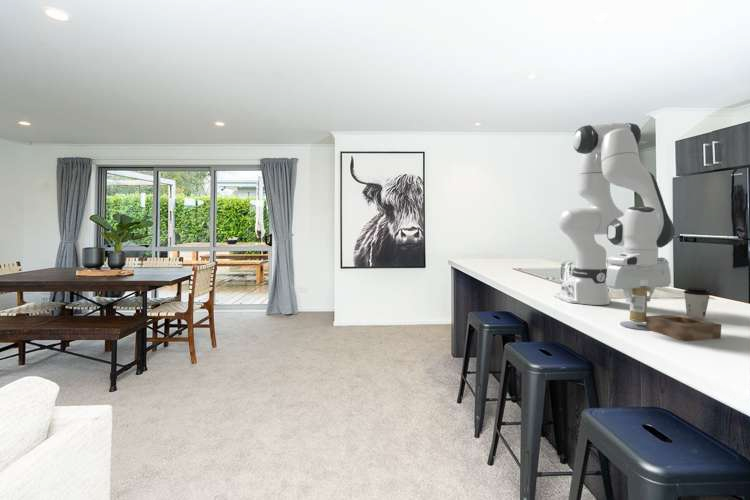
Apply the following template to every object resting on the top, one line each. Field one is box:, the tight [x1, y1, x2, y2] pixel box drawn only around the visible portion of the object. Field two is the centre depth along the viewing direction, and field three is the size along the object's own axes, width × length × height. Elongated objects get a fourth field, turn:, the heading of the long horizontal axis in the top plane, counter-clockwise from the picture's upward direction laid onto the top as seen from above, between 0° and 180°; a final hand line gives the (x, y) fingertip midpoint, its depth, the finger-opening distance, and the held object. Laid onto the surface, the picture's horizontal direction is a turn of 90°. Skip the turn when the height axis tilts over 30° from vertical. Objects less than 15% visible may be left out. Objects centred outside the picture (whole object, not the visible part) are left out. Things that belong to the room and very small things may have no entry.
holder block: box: [645, 313, 722, 342], centre depth 107 cm, size 12×12×4 cm
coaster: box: [619, 320, 651, 331], centre depth 115 cm, size 9×9×1 cm
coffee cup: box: [683, 287, 711, 320], centre depth 124 cm, size 7×7×10 cm
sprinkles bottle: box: [628, 280, 648, 323], centre depth 115 cm, size 5×5×14 cm
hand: (638, 301), depth 115 cm, fingers closed on sprinkles bottle, 4 cm apart
